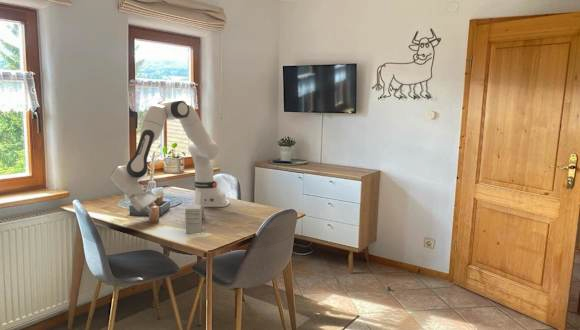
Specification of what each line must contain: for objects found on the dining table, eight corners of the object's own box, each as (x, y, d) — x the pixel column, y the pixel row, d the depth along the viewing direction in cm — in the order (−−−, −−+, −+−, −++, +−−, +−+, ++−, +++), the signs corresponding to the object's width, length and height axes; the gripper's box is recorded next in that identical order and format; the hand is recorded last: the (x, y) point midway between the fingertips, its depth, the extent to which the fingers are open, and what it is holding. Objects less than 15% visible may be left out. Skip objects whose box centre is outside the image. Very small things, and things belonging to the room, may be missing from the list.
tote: (169, 209, 258) (169, 200, 257) (161, 215, 244) (161, 207, 243) (139, 207, 259) (139, 199, 258) (129, 214, 245) (129, 205, 244)
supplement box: (187, 229, 222) (186, 204, 220) (202, 229, 223) (202, 204, 221) (185, 233, 215) (184, 208, 213) (200, 233, 215) (200, 208, 213)
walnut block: (162, 209, 253) (161, 195, 252) (159, 211, 248) (158, 197, 247) (153, 209, 254) (153, 195, 252) (150, 211, 249) (149, 197, 247)
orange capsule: (160, 220, 235) (160, 205, 234) (157, 223, 230) (156, 208, 229) (151, 220, 236) (150, 205, 234) (147, 222, 231) (147, 207, 229)
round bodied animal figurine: (181, 220, 236) (180, 205, 234) (199, 216, 244) (199, 201, 243) (189, 223, 231) (188, 208, 230) (207, 219, 240) (207, 204, 238)
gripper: (131, 193, 220) (151, 213, 221) (147, 184, 241) (165, 203, 242) (123, 201, 221) (143, 221, 222) (139, 192, 242) (157, 210, 243)
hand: (155, 211), depth 232 cm, fingers closed on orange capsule, 5 cm apart
